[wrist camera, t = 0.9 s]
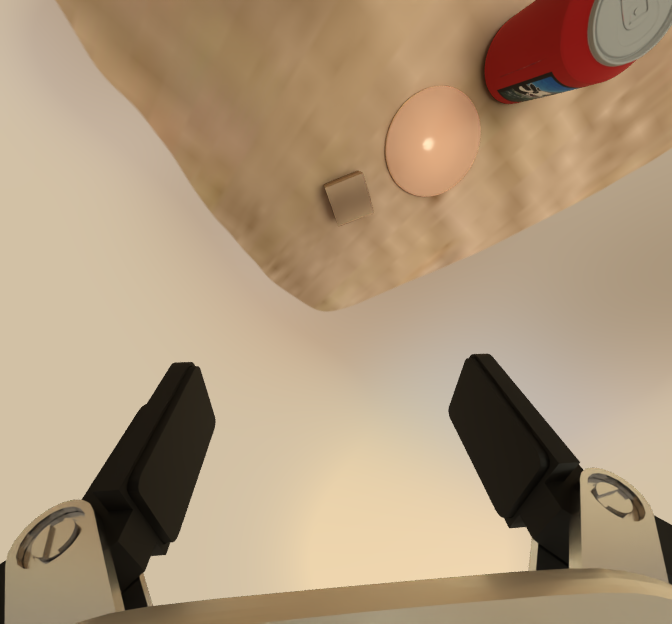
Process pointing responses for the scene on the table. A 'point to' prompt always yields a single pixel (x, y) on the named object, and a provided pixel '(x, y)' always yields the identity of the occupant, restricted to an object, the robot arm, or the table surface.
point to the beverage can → (571, 45)
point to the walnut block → (349, 198)
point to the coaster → (433, 141)
